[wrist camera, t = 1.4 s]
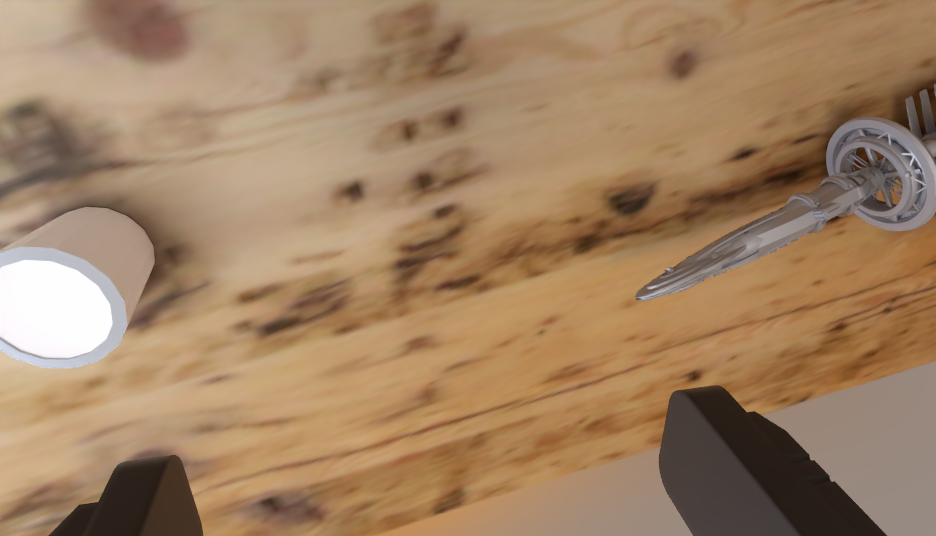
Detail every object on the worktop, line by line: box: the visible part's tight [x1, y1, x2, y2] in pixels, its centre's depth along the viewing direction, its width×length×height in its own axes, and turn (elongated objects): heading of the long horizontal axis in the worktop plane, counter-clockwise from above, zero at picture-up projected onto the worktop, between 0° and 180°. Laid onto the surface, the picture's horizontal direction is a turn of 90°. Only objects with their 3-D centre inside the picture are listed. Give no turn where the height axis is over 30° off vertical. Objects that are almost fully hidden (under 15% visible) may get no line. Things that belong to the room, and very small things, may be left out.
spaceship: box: [635, 84, 936, 301], centre depth 37 cm, size 8×35×8 cm
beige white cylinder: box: [0, 207, 155, 368], centre depth 31 cm, size 7×7×7 cm
